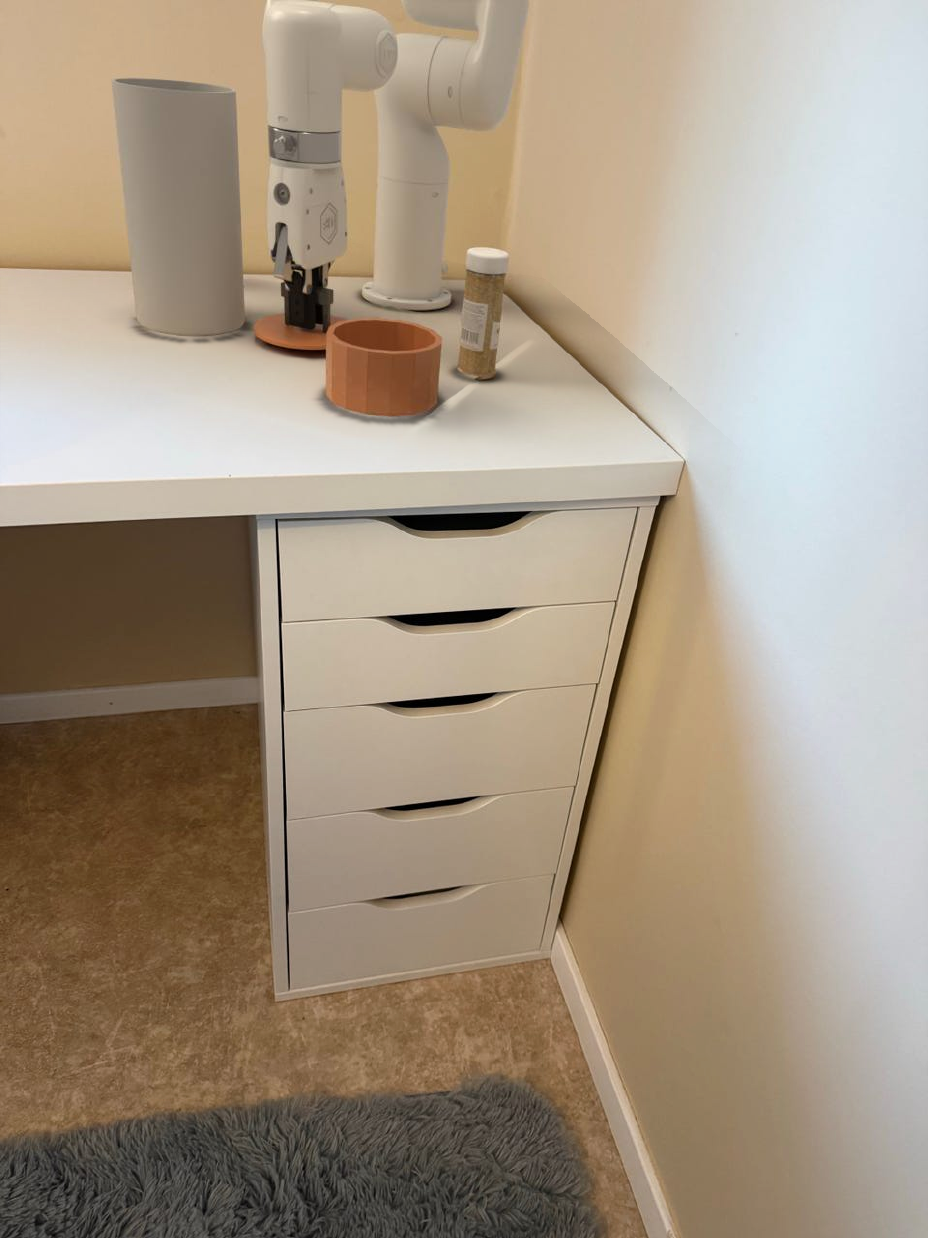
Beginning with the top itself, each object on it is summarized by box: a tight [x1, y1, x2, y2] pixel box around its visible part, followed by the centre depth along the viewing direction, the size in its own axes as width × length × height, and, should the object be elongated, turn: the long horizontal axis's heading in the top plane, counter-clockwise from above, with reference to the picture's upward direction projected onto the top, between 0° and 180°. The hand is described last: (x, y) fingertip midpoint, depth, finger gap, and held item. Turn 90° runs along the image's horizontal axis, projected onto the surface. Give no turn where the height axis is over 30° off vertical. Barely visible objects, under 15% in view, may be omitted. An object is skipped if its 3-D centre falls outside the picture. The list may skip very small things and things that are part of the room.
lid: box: [253, 281, 347, 351], centre depth 104 cm, size 12×12×6 cm
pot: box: [325, 317, 443, 417], centre depth 92 cm, size 11×11×7 cm
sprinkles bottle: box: [456, 246, 510, 381], centre depth 100 cm, size 5×5×13 cm
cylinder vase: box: [111, 77, 246, 337], centre depth 102 cm, size 12×12×25 cm
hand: (307, 323), depth 104 cm, fingers closed on lid, 1 cm apart
